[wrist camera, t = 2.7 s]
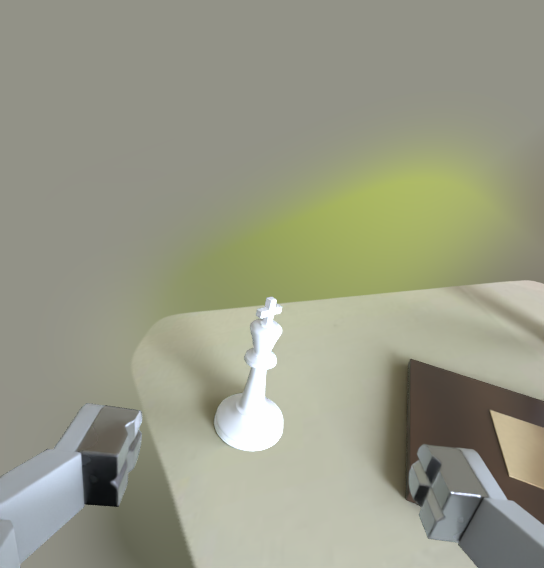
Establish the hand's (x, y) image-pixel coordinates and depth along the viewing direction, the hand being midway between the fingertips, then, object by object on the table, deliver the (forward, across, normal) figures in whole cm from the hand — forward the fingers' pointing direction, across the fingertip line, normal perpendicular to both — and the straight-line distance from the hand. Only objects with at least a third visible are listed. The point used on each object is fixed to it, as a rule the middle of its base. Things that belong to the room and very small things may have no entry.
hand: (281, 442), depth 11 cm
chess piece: (+12, 0, +11) cm, 17 cm away
